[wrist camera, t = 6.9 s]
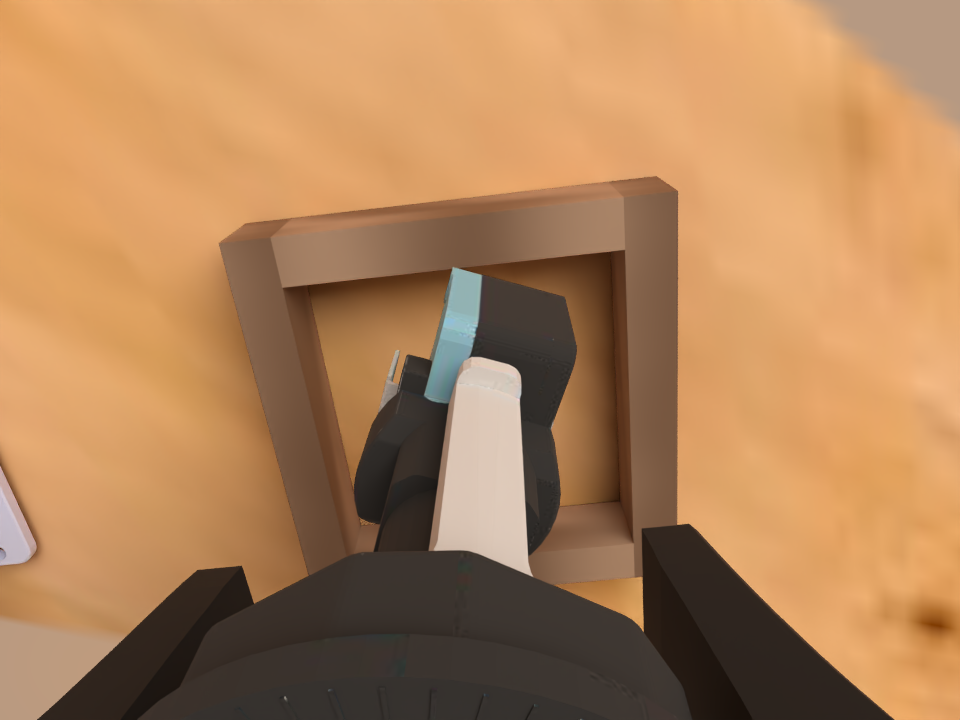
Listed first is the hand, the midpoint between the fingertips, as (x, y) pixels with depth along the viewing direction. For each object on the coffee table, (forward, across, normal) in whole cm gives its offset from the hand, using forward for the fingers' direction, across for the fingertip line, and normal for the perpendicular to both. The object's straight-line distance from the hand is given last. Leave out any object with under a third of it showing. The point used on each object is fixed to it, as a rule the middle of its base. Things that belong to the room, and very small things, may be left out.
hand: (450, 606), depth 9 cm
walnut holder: (+10, 0, +2) cm, 11 cm away
